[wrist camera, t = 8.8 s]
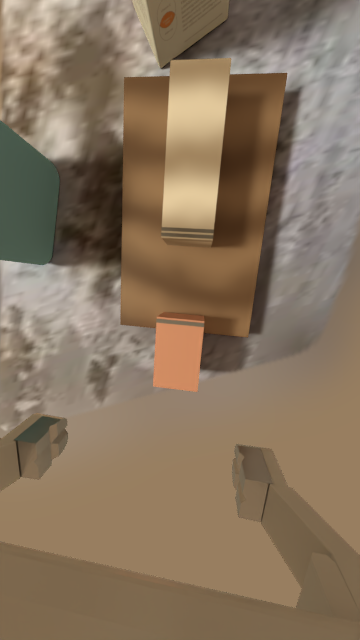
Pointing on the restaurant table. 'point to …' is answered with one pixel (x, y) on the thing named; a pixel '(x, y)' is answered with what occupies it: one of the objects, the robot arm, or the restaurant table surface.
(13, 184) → the data package
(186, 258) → the board
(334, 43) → the restaurant table surface
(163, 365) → the orange rectangular block
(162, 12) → the small box
